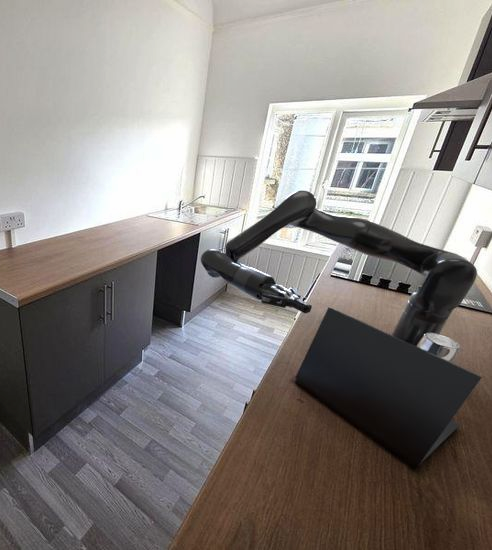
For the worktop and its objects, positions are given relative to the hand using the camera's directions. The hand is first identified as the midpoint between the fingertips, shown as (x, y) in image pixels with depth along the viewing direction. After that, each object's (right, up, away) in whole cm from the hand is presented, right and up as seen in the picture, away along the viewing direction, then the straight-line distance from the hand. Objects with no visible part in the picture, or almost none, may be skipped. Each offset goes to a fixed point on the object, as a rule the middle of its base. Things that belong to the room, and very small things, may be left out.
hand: (309, 309), depth 73 cm
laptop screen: (+8, -14, -9) cm, 18 cm away
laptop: (+15, -24, 0) cm, 28 cm away
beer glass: (+34, -22, +8) cm, 41 cm away
